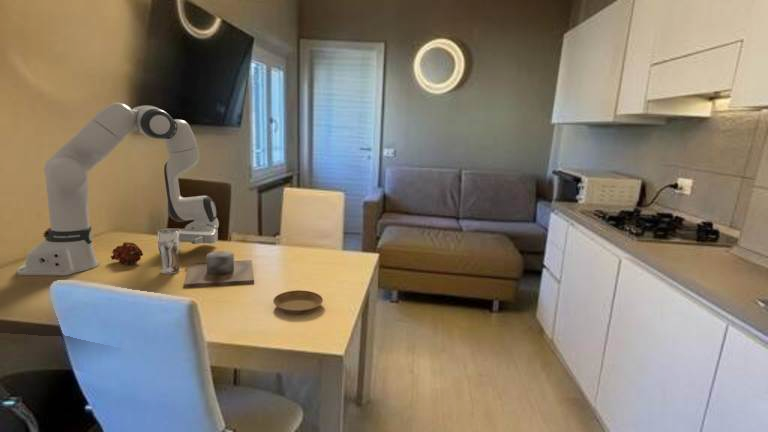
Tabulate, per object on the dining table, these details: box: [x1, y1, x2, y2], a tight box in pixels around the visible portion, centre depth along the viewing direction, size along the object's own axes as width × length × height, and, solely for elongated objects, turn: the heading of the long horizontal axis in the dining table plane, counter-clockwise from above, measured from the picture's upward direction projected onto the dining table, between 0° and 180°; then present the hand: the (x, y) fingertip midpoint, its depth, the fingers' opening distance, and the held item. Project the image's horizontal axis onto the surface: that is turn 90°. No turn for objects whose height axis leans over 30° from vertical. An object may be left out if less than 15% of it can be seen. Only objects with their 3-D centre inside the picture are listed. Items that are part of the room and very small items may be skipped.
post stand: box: [183, 250, 255, 288], centre depth 154 cm, size 22×22×7 cm
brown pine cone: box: [110, 241, 144, 265], centre depth 160 cm, size 8×8×12 cm
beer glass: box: [157, 227, 181, 275], centre depth 153 cm, size 7×7×15 cm
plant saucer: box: [272, 290, 324, 316], centre depth 131 cm, size 15×15×3 cm
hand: (181, 241), depth 162 cm, fingers open, 8 cm apart
